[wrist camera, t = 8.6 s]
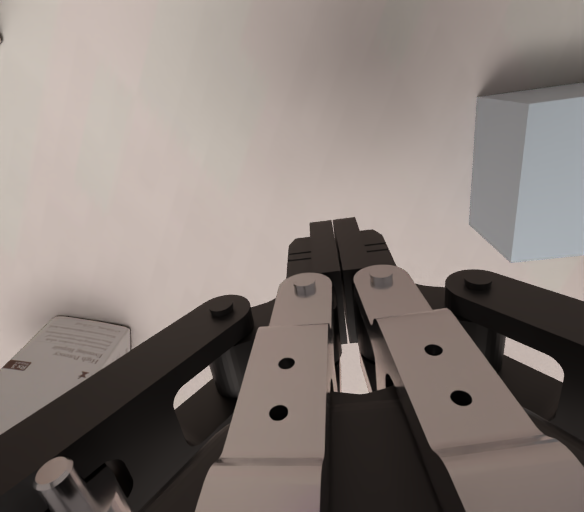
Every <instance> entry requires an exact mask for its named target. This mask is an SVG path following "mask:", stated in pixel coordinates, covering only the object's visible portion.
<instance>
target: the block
mask: <svg viewBox="0 0 584 512" xmlns="http://www.w3.org/2000/svg"><path fill="white" fill-rule="evenodd" d="M469 225H470V226H471V227H472V228H473V229H474V230H475V231H477V232H478V233H479V234H480V235H481V236H482V237H483V238H484V239H485V240H486V241H487V242H489V243H490V244H491V245H492V246H493V247H494V248H495V249H496V250H497V251H498V252H499V253H501V254H502V255H503V256H504V257H505V258H506V259H507V260H508V261H509V262H510V263H514V262H523V261H533V260H543V259H553V258H562V257H572V256H582V255H584V82H582V83H575V84H567V85H560V86H553V87H546V88H538V89H531V90H524V91H517V92H509V93H502V94H495V95H487V96H480V97H477V105H476V120H475V136H474V152H473V168H472V184H471V199H470V215H469Z"/></svg>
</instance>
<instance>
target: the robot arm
mask: <svg viewBox="0 0 584 512" xmlns="http://www.w3.org/2000/svg"><path fill="white" fill-rule="evenodd" d="M333 227H334V233H333ZM333 227H332V222H331V220H328V221H320V222H312V223H310V237H305V238H297V239H295V240H294V241H293V242H292V243H291V244H290V245H289V250H288V263H287V277H286V279H285V280H284V281H283V282H282V283H281V284H280V285H279V288H278V292H277V296H276V298H275V299H273V300H272V301H269V302H267V303H264V304H261V305H258V306H255V307H250V303H249V301H248V300H247V299H246V298H245V297H242V296H239V295H224V296H219V297H216V298H213V299H211V300H209V301H207V302H205V303H203V304H202V305H200V306H199V307H197V308H196V309H194V310H193V311H191V312H190V313H188V314H186V315H185V316H183V317H182V318H180V319H179V320H177V321H176V322H174V323H173V324H171V325H169V326H168V327H166V328H165V329H163V330H162V331H160V332H159V333H157V334H155V335H154V336H152V337H151V338H149V339H148V340H146V341H145V342H143V343H142V344H140V345H138V346H137V347H135V348H134V349H132V350H131V351H129V352H128V353H126V354H125V355H123V356H121V357H120V358H118V359H117V360H115V361H114V362H112V363H111V364H109V365H107V366H106V367H104V368H103V369H101V370H100V371H98V372H97V373H95V374H94V375H92V376H90V377H89V378H87V379H86V380H84V381H83V382H81V383H80V384H78V385H77V386H75V387H73V388H72V389H70V390H69V391H67V392H66V393H64V394H63V395H61V396H59V397H58V398H56V399H55V400H53V401H52V402H50V403H49V404H47V405H46V406H44V407H42V408H41V409H39V410H38V411H36V412H35V413H33V414H32V415H30V416H29V417H27V418H25V419H24V420H22V421H21V422H19V423H18V424H16V425H15V426H13V427H11V428H10V429H8V430H7V431H5V432H4V433H2V434H1V435H0V512H584V301H581V300H578V299H575V298H572V297H568V296H565V295H562V294H559V293H556V292H553V291H550V290H547V289H543V288H540V287H537V286H534V285H531V284H528V283H525V282H522V281H518V280H515V279H512V278H509V277H506V276H503V275H500V274H497V273H493V272H490V271H485V270H462V271H458V272H455V273H453V274H451V275H450V276H448V277H447V279H446V281H445V287H432V286H423V285H419V284H415V283H414V281H413V280H412V278H411V277H410V275H409V274H408V273H407V272H406V271H405V270H404V269H402V268H400V267H397V266H396V264H395V262H394V260H393V258H392V255H391V253H390V251H389V250H388V247H387V245H386V242H385V240H384V238H383V236H382V235H381V234H380V233H378V232H376V231H375V230H373V229H372V230H364V231H359V228H358V225H357V222H356V219H355V217H352V218H344V219H336V220H333ZM334 237H335V238H334ZM344 312H345V314H344ZM345 318H346V323H347V329H348V335H349V341H350V343H358V345H359V353H360V364H361V368H362V371H363V374H364V378H365V381H366V384H367V388H368V391H369V393H367V394H350V393H342V392H341V363H340V357H341V354H342V348H341V344H347V334H346V324H345ZM506 337H508V338H511V339H513V340H515V341H517V342H520V343H522V344H524V345H527V346H529V347H531V348H534V349H536V350H538V351H540V352H543V353H545V354H547V355H549V356H551V357H552V358H554V359H555V360H556V361H557V362H558V363H559V364H560V366H561V367H562V369H563V371H564V381H563V383H562V382H560V381H558V380H556V379H554V378H552V377H550V376H548V375H546V374H543V373H541V372H539V371H537V370H535V369H533V368H531V367H529V366H527V365H524V364H522V363H520V362H518V361H516V360H514V359H512V358H510V357H508V356H505V355H503V354H504V346H505V338H506ZM208 365H209V366H210V369H211V372H212V376H213V379H212V380H210V381H209V382H208V383H207V384H206V385H204V386H203V387H202V388H201V389H199V390H198V391H197V392H196V393H195V394H193V395H192V396H191V397H190V398H189V399H187V400H186V401H185V402H184V403H182V404H181V405H180V406H179V407H178V408H176V409H175V410H174V407H173V402H174V398H175V396H176V394H177V392H178V391H179V389H180V388H181V387H182V386H183V385H184V384H186V383H187V382H188V381H189V380H191V379H192V378H193V377H194V376H196V375H197V374H198V373H200V372H201V371H202V370H203V369H205V368H206V367H207V366H208Z"/></svg>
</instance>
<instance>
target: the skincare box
mask: <svg viewBox="0 0 584 512" xmlns="http://www.w3.org/2000/svg"><path fill="white" fill-rule="evenodd" d="M129 351H130V329H129V328H126V327H124V326H118V325H113V324H109V323H103V322H98V321H92V320H86V319H79V318H72V317H65V316H57V317H54V318H53V319H51V320H50V321H49V323H48V324H46V325H45V326H44V327H43V328H42V329H41V330H40V331H39V332H38V333H37V334H36V335H35V336H34V337H33V338H32V339H31V340H30V341H29V342H28V343H27V344H26V345H25V346H24V347H23V348H22V349H21V350H20V351H19V352H18V353H17V354H16V355H15V356H14V357H13V358H12V359H11V360H10V361H9V362H8V363H7V364H5V365H4V366H3V367H2V368H1V369H0V435H1V434H2V433H4V432H5V431H7V430H8V429H10V428H11V427H13V426H15V425H16V424H18V423H19V422H21V421H22V420H24V419H25V418H27V417H29V416H30V415H32V414H33V413H35V412H36V411H38V410H39V409H41V408H42V407H44V406H46V405H47V404H49V403H50V402H52V401H53V400H55V399H56V398H58V397H59V396H61V395H63V394H64V393H66V392H67V391H69V390H70V389H72V388H73V387H75V386H77V385H78V384H80V383H81V382H83V381H84V380H86V379H87V378H89V377H90V376H92V375H94V374H95V373H97V372H98V371H100V370H101V369H103V368H104V367H106V366H107V365H109V364H111V363H112V362H114V361H115V360H117V359H118V358H120V357H121V356H123V355H125V354H126V353H128V352H129Z"/></svg>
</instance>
